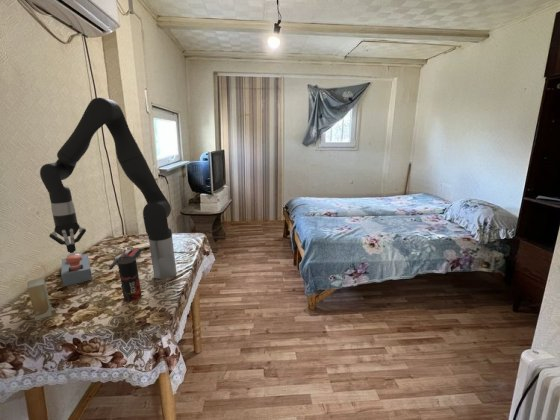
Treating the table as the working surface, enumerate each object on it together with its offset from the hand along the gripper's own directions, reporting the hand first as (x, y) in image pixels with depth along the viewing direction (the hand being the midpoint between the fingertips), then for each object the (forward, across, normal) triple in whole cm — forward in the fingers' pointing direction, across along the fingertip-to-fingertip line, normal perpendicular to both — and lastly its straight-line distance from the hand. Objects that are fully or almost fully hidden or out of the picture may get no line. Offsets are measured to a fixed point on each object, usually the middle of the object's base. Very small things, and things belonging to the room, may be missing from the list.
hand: (72, 252), depth 123 cm
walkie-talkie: (+13, +20, +9) cm, 26 cm away
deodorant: (+12, +17, -31) cm, 37 cm away
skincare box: (+12, -10, -24) cm, 29 cm away
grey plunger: (+11, 0, +11) cm, 16 cm away
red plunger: (+9, 0, 0) cm, 9 cm away
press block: (+12, 0, +5) cm, 13 cm away
